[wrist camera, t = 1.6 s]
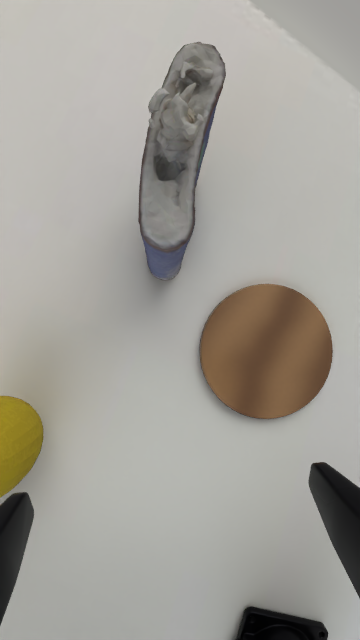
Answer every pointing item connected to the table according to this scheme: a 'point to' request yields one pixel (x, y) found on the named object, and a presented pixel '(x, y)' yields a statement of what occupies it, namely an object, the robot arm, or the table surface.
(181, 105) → the flask
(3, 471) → the lemon
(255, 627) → the robot arm
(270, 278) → the table surface
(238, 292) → the wooden coaster
